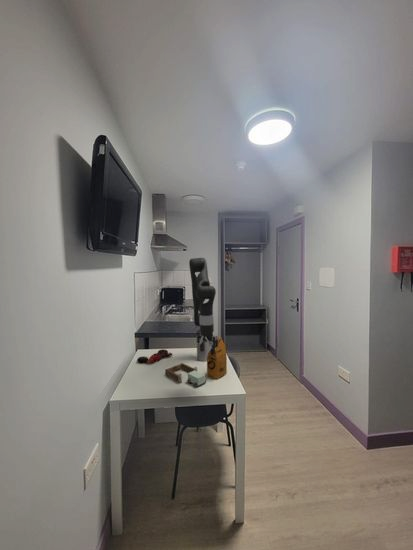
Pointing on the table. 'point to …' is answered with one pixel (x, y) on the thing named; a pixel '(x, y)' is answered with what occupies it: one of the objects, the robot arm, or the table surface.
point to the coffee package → (217, 361)
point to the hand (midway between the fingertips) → (207, 353)
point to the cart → (196, 378)
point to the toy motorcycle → (154, 357)
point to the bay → (171, 371)
